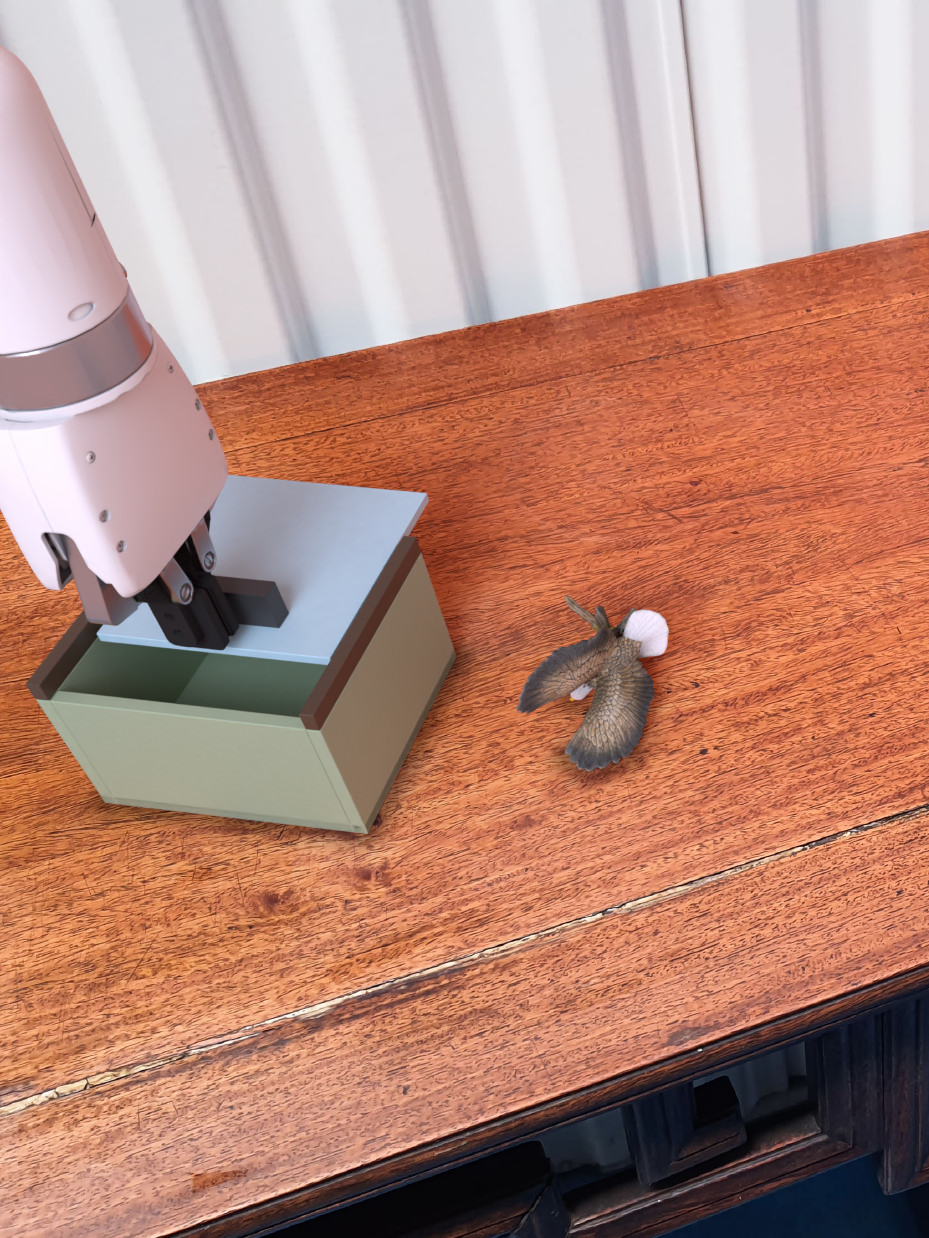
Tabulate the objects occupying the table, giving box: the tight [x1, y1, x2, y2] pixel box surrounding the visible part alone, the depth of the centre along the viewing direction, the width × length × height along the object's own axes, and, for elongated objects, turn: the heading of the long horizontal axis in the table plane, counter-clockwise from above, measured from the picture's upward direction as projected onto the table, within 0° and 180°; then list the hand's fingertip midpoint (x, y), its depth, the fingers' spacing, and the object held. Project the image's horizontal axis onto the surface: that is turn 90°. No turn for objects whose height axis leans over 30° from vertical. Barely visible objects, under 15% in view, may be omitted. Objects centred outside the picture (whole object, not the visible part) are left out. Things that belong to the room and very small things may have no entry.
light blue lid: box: [97, 474, 430, 665], centre depth 78 cm, size 13×14×3 cm
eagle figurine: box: [515, 595, 670, 773], centre depth 81 cm, size 8×7×9 cm
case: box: [25, 535, 457, 835], centre depth 79 cm, size 16×14×10 cm
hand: (205, 636), depth 73 cm, fingers closed
